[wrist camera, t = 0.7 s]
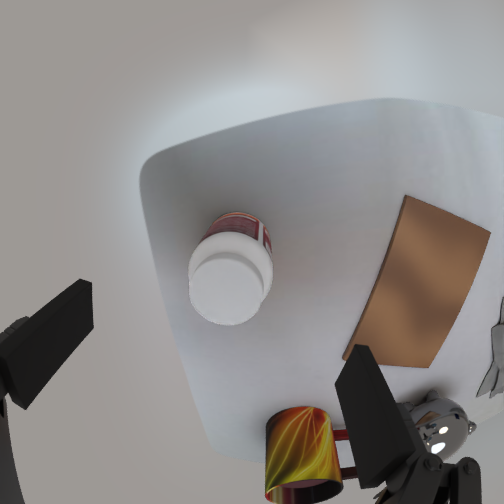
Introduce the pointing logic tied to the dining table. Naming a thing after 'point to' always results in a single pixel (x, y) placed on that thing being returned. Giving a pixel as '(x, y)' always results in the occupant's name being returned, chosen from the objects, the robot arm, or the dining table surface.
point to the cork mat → (420, 285)
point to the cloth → (496, 362)
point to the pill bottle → (231, 269)
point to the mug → (303, 457)
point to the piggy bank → (441, 424)
